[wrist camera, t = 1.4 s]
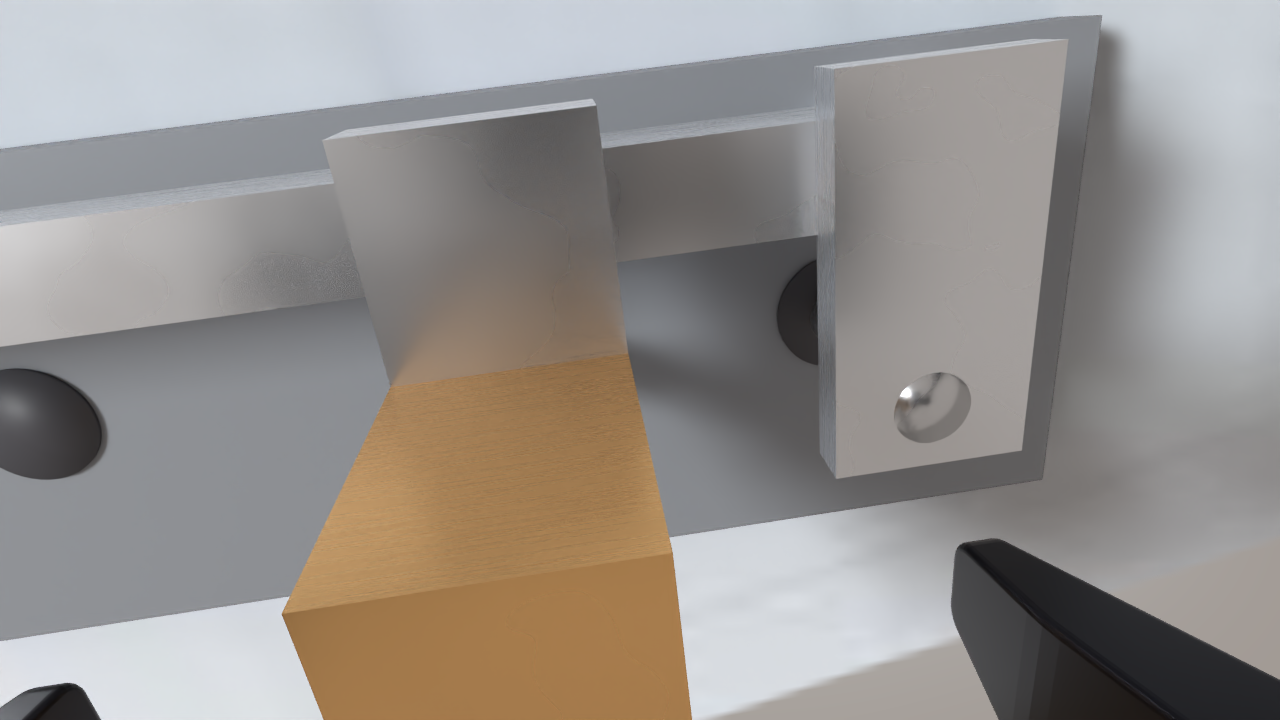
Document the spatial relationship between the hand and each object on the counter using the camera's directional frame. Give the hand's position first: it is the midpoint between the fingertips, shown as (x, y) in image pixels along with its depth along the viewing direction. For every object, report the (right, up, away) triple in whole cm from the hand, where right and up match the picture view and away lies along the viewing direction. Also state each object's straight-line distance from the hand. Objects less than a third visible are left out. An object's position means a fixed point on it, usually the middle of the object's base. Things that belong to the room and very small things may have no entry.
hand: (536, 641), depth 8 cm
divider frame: (-4, +4, +6) cm, 9 cm away
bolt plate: (-3, +3, +8) cm, 9 cm away
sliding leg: (-1, +4, +6) cm, 8 cm away
